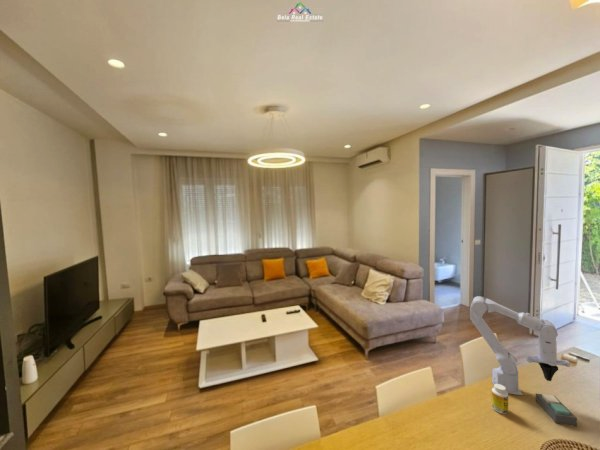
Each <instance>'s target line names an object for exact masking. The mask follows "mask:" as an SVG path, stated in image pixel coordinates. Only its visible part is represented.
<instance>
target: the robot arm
mask: <svg viewBox="0 0 600 450" xmlns="http://www.w3.org/2000/svg"><path fill="white" fill-rule="evenodd" d="M486 312H487V313H494V312H495V313H498V314H501V315H503V316H506V317H508V318H511V319H513V320H515V321H516V322H517V324H518V325H521V326H523V327H525V328H528V329H530V330H532V331H535V332H537V333H538V336H537V337H538V339H537V340H538V355H526V357H525V359H526V362H528V363H531V364H532V363H535V364H536V363H537V364H538V365H539V366H540V369H541V371H542V373H543V377H544V379H545V380H546V381H547V382H552V380H553V377H554V375H555V374H556V373H557V372H558V371H559V367H558V366H562V367H563V366H565V367H568V368H570V367H571V363H570V362H569V360H567V359H560V358H558V357H557V353H558V352H557V349H558V348H557V337H558V334H559V333H558V331H557V329H556V326H555V325H554V324H553V323H552V322H550V321H549V320H547V319H542V318H541V319H540V318H537V317H535V316H534V315H531V313H529V312H526V313H525V312H523V311H522V312H517V311H515V310H512V309H511V308H509V307H506V306H504V305H502V304H499V302H498V303H497V302H495V301H494V300H492V299H490V298H488V297H487V298H485V297H484V296H480V295H477V296H474V297H473V298H472V301H471V302H470V307H469V319H470V321H471V322H472V324H473V325H474V326H475V328H476V329H477V330H478V332H479V333H480V335H481V336H482V338H483V339H484V340H485V342H486V343H487V344H488V346H489V347H490V349H491V350H492V352H493V353H494V355H495V358H496V360H497V362H498V363H499V366H498V367H493V368H492V370H491V372H492V374H491V376H492V377H491V383H492V384H493V385H494V384H501V385H503V386H504V387H505V388H506V392H507V393H508V395H509V394H512V395H517V396H523V395H524V393H522V391H521V390H520V389H519V371H518V370H519V369H518V366H517V363H518V361H517V357H515V356H514V354H512V353H511V352H509V350H508V349H507V348H506V347H504V345H503V344H502V343H501V341H500V340H499V339H498V338H497V336H496V334H495V333H494V332H493V331H492V329H491V327H490V326H489V324H487V322H486V321H485V320H484V318H483V316H484V314H485V313H486Z"/></svg>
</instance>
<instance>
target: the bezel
mask: <svg viewBox="0 0 600 450" xmlns="http://www.w3.org/2000/svg"><path fill="white" fill-rule="evenodd" d="M553 396H554V397H555V398H556V399H557V400H558V401H559V402H560V405H563V406H564V407H565V408H566V409H567V410H568V411H569V412H570V415H566V414H559V413H556V412H555V411H554V410H553V409H552V408H551V407H550V404H549V403H547V402H546V401H545V400H544V399H543V398H542V393H535V400H536V399H537V400H538V402H539V403H540V404H541V405H542V406H543V407H544V408H545V410H546V411H547V412H548V413H549V414H550V415H551V416H552V417H553V419H554V420H555V421H560V422H567V423H573V424H577V425H578V418H577V417H576V415H574V413H572V412H571V411H570V410H569V409H568V407H566V405H565V404H564V403H563V402H561V401H560V400H559V398H558V397H557V396H556V395H553Z"/></svg>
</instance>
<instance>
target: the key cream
mask: <svg viewBox="0 0 600 450" xmlns="http://www.w3.org/2000/svg"><path fill="white" fill-rule="evenodd" d="M541 394H542V393H541ZM554 396H555V395H551V394H546V393H545V394H544V393H543V394H542V398H543V399H544V400H545V401H546V402H547V403H549V404H550V403H553V404H560V402H561V401H560V400H559V399H558V398H557V397H556V396H555V397H556V398H557V399H558V400H559V401H560V402H559V401H558V400H557V399H556V398H555V397H554Z"/></svg>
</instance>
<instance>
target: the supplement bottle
mask: <svg viewBox="0 0 600 450" xmlns="http://www.w3.org/2000/svg"><path fill="white" fill-rule="evenodd" d="M491 407H492V409H493V410H494V411H496V412H497V413H498V414H501V415H507V414H508V413H509V393H507V392H506V388H505V387H504V386H503V385H501V384H493V387H492V388H491Z"/></svg>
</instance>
